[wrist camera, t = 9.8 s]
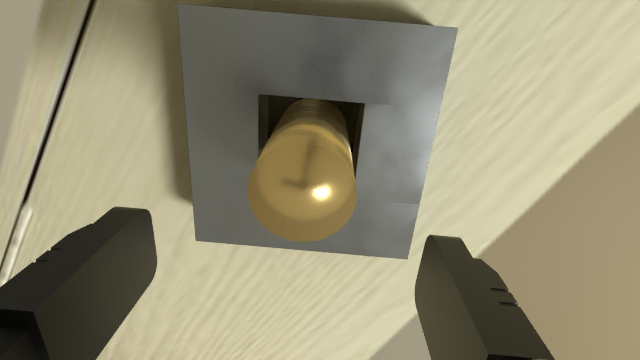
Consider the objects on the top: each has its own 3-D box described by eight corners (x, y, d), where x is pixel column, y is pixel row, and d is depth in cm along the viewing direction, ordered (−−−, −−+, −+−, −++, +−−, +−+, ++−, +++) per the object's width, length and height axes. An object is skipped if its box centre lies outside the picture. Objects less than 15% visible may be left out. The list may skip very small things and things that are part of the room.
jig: (201, 7, 18) (177, 3, 15) (438, 27, 17) (458, 27, 15) (212, 214, 22) (195, 240, 20) (398, 230, 22) (407, 259, 20)
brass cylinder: (278, 95, 19) (245, 139, 12) (350, 100, 19) (362, 147, 12) (277, 163, 21) (248, 238, 13) (344, 167, 21) (351, 245, 13)
